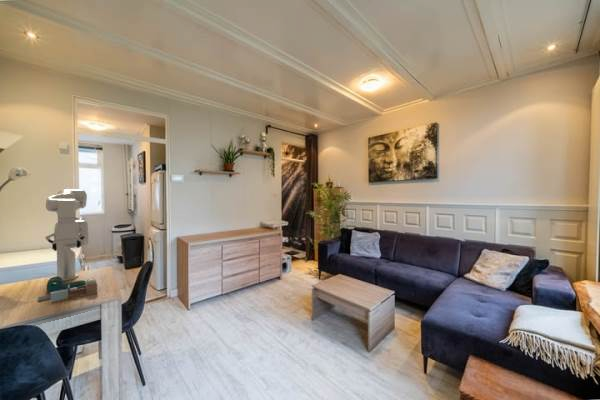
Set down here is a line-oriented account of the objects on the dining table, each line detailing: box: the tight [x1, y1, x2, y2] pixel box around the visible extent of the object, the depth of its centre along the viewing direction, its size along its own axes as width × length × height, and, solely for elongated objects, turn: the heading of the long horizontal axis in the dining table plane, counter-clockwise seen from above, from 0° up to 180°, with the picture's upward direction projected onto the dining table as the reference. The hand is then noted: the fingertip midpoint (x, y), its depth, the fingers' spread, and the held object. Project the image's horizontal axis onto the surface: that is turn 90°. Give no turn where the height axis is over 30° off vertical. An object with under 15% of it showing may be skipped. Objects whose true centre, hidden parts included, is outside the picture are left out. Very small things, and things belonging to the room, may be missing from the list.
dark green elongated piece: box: [46, 276, 87, 294], centre depth 152 cm, size 18×7×8 cm, turn 135°
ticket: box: [50, 287, 77, 303], centre depth 137 cm, size 2×11×5 cm, turn 137°
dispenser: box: [67, 277, 98, 300], centre depth 143 cm, size 8×13×8 cm, turn 137°
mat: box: [37, 294, 51, 303], centre depth 137 cm, size 7×8×1 cm
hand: (67, 248), depth 136 cm, fingers open, 9 cm apart
